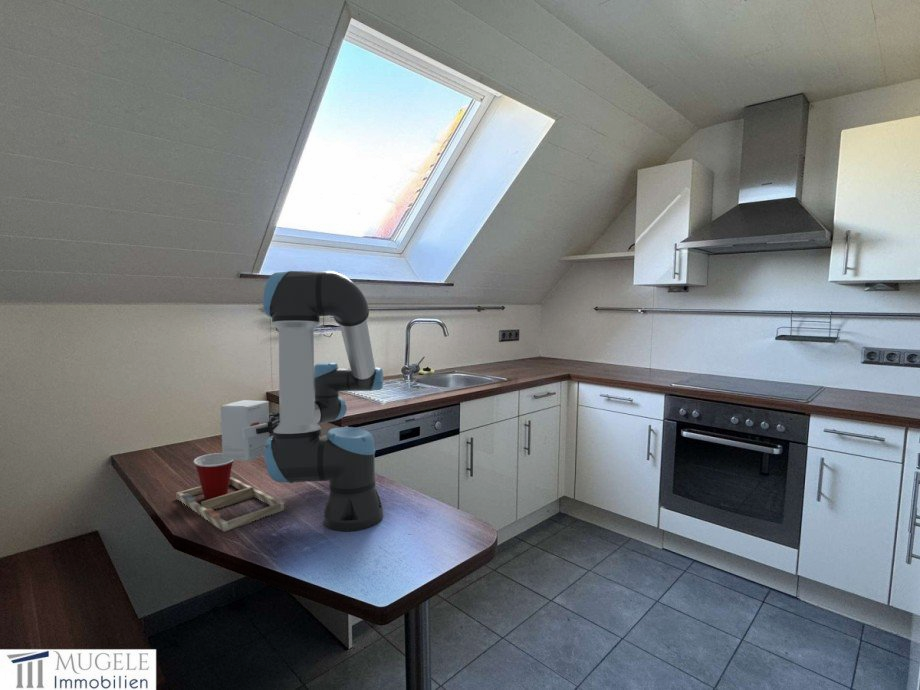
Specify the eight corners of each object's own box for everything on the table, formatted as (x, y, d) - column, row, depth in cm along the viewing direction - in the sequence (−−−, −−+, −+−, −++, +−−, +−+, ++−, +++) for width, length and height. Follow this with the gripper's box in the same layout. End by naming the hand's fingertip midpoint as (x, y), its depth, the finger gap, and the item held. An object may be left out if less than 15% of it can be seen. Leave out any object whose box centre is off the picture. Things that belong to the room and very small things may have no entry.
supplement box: (248, 461, 123) (246, 406, 122) (221, 459, 126) (219, 405, 125) (271, 452, 132) (269, 400, 131) (245, 450, 134) (243, 399, 134)
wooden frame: (284, 510, 126) (283, 499, 126) (222, 532, 114) (221, 520, 114) (232, 483, 147) (232, 474, 147) (175, 499, 135) (175, 489, 134)
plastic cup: (219, 506, 129) (217, 464, 128) (186, 503, 131) (184, 462, 131) (245, 491, 140) (243, 452, 139) (214, 489, 142) (212, 451, 141)
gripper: (326, 432, 136) (256, 450, 119) (279, 423, 150) (211, 438, 132) (325, 407, 136) (255, 422, 118) (279, 400, 150) (209, 412, 132)
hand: (231, 430), depth 125 cm, fingers closed on supplement box, 11 cm apart
